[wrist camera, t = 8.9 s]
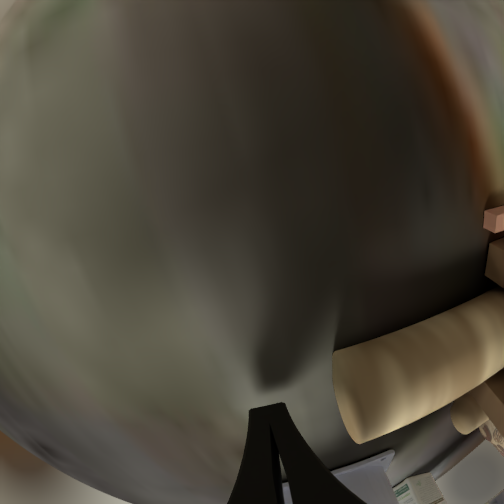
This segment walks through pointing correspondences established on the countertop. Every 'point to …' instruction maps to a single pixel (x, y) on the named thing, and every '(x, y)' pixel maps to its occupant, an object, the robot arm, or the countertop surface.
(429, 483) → the syrup box
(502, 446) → the figurine
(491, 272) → the block
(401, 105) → the countertop surface
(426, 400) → the dowel
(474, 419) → the short dowel
